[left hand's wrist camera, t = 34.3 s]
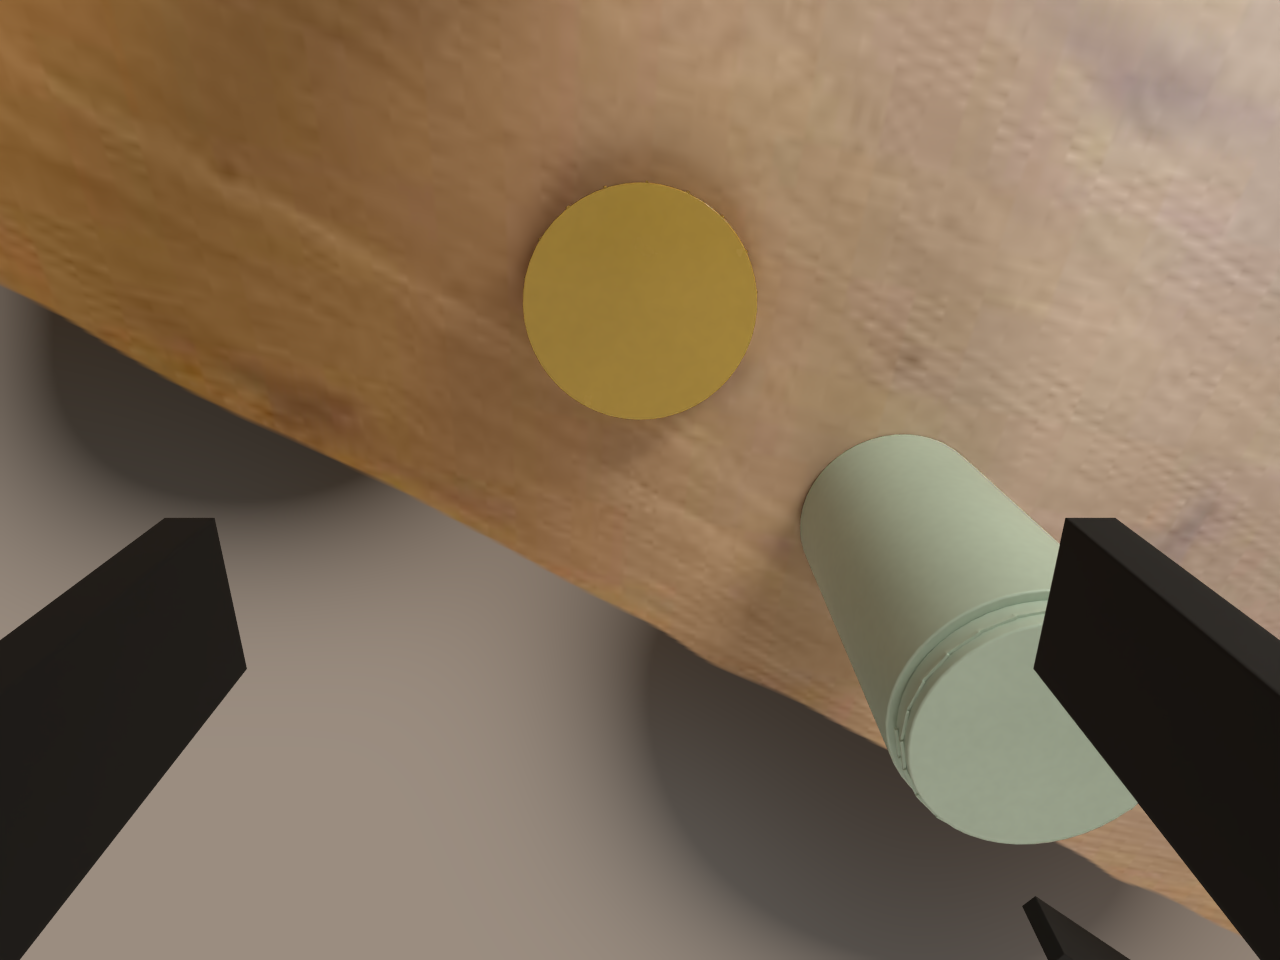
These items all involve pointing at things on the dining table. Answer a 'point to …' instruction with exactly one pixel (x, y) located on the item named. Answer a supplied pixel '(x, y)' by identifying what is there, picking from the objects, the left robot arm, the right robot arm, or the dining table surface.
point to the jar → (954, 640)
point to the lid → (639, 301)
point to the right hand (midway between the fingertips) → (1175, 830)
